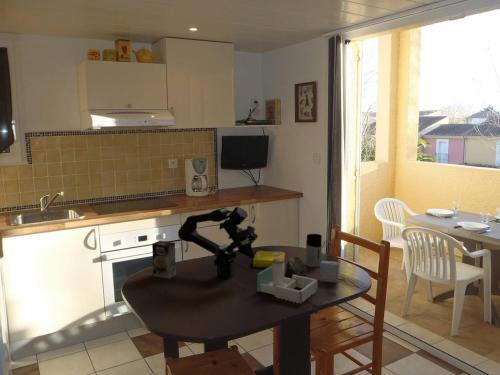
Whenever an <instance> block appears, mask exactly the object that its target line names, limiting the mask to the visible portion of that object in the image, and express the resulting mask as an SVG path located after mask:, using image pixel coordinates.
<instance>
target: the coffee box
mask: <svg viewBox="0 0 500 375" xmlns="http://www.w3.org/2000/svg"><path fill="white" fill-rule="evenodd" d="M151 245H152V270H153V271H152V272H153V277H156V278H163V279H171V278H173V277H175V276H176V271H177V270H176V242H174V241H173V242H172V241H163V240H158V241H155V242H153V243H152V244H151Z"/></svg>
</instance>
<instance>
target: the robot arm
mask: <svg viewBox="0 0 500 375" xmlns="http://www.w3.org/2000/svg"><path fill="white" fill-rule="evenodd" d="M248 216H249V215H248V212H247V210H245V209H244V208H241V207H240V206H239V205H237V206H235V207H234V208H233V210H229V209H228V208H227V207H221V208H218V209H214V210H212V211H211V212H207V213H206V212H205V213H201V214H193V215H190V216H188V217H186V219H185V221H184V223H183V224H182V225H181V227H180V228H179V229H178V231H177V232H178V233H177V235H178V236H177V237H178V239H179V240H181V241H184V242H190V243H194V244H195V245H197V246H199V247H201V248H203V249H204V250H206V251H208V252H210V253H211V254H213V255H215V258H216V259H214V260H213V263H214V266H216V275H215V278H217V279H222V280H223V279H224V280H229V279H230V278H231V277H233V276H234V273H233V271H234V269H233V266H232V264H233V263H234V262H235V259H236V258H237V253H239V254H242V255H244V256H246V257H248V258H250V259H253V258H255V257H254V256H255V254H254V251H253V248H252V244H254V242H255V241H256V240H257V239H258V238H259V236H258V234H257V233H255V231H256V228H255V227H254V226H253V225H252V224H251V225H247V227H246V228H245V229H243V228H242V227H239V226H240V225H242V223H243V222H244V221H245V220H246V219H247V218H248ZM210 221H211V222H215V223H217V222H218V223H219V230H222V229H224V231H225V232H226V233H227V235H228V240H232V242H230V244H227V243H225V244H223V245H219V244H217V243H215V242H214V241H213V240H210V239H209V238H207V237H204V235H203V236H202V235H201V234H200V233H199V232H198V230H197V228H198V224H199V223H205V222H210ZM220 222H221V223H220ZM235 249H237V250H235Z"/></svg>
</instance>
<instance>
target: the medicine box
mask: <svg viewBox="0 0 500 375" xmlns="http://www.w3.org/2000/svg"><path fill="white" fill-rule="evenodd" d="M339 265H340V264H339V261H330V260H329V261H328V260H322V261H321V263H320V266H319V281H320V282H326V283H335V284H338V281H339Z"/></svg>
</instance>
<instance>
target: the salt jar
mask: <svg viewBox="0 0 500 375" xmlns="http://www.w3.org/2000/svg"><path fill="white" fill-rule="evenodd" d="M272 271H273V287H275V286H276V285H277V286H281V287H284V277H285V261H284V259H281V258H275V259H273V262H272Z"/></svg>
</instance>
